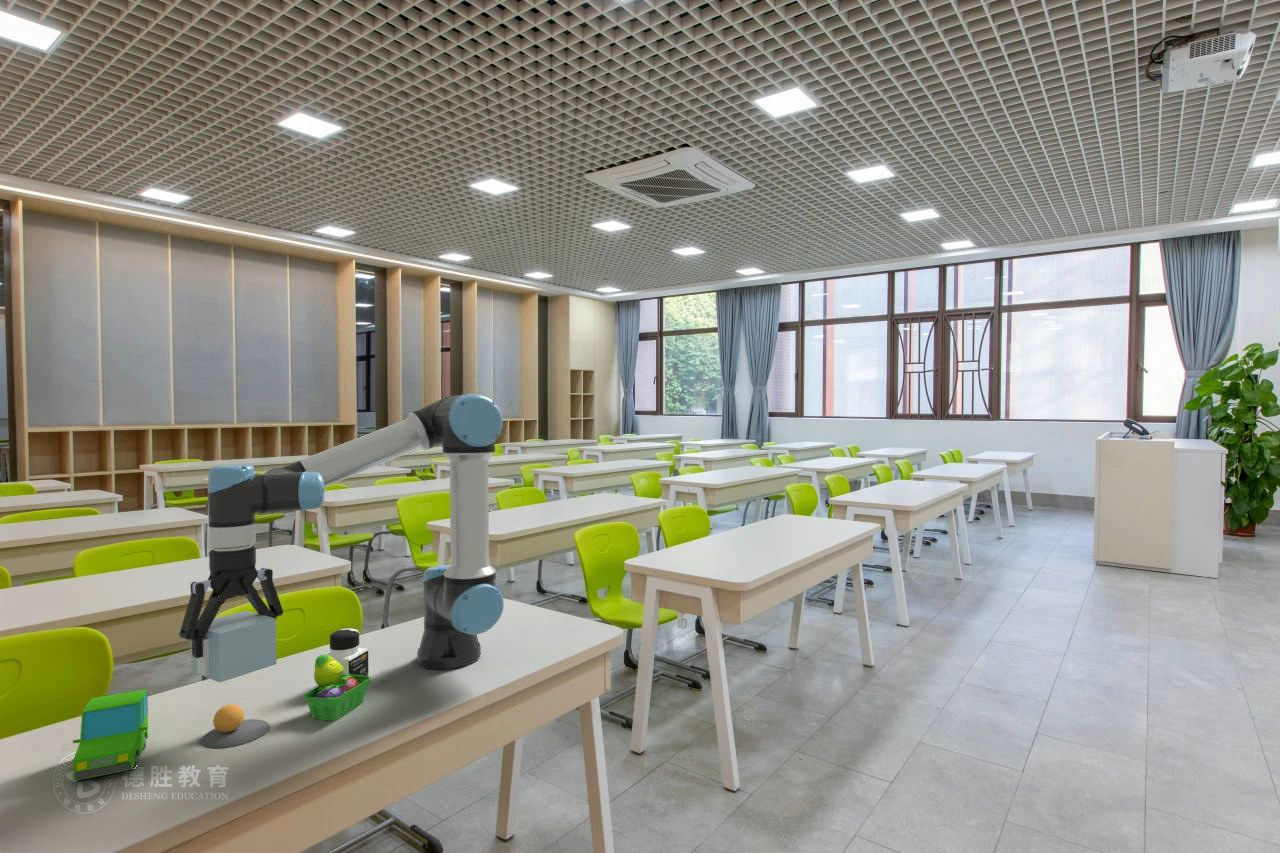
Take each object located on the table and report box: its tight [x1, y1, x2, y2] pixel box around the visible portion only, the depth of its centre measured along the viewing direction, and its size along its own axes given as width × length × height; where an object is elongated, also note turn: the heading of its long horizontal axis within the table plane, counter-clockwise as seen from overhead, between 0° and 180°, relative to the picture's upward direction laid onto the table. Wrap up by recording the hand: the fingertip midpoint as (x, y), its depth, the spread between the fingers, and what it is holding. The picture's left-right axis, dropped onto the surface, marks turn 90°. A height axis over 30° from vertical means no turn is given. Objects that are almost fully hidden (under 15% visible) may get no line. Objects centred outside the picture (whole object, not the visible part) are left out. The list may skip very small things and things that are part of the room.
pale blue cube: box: [190, 610, 277, 683], centre depth 126 cm, size 10×10×9 cm
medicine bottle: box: [326, 628, 370, 677], centre depth 149 cm, size 7×7×12 cm
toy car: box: [72, 688, 149, 782], centre depth 115 cm, size 10×13×10 cm
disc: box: [201, 718, 271, 749], centre depth 126 cm, size 11×11×1 cm
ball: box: [212, 703, 245, 733], centre depth 127 cm, size 5×5×5 cm
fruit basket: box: [303, 653, 371, 722], centre depth 136 cm, size 11×9×11 cm
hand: (234, 664), depth 126 cm, fingers closed on pale blue cube, 10 cm apart
